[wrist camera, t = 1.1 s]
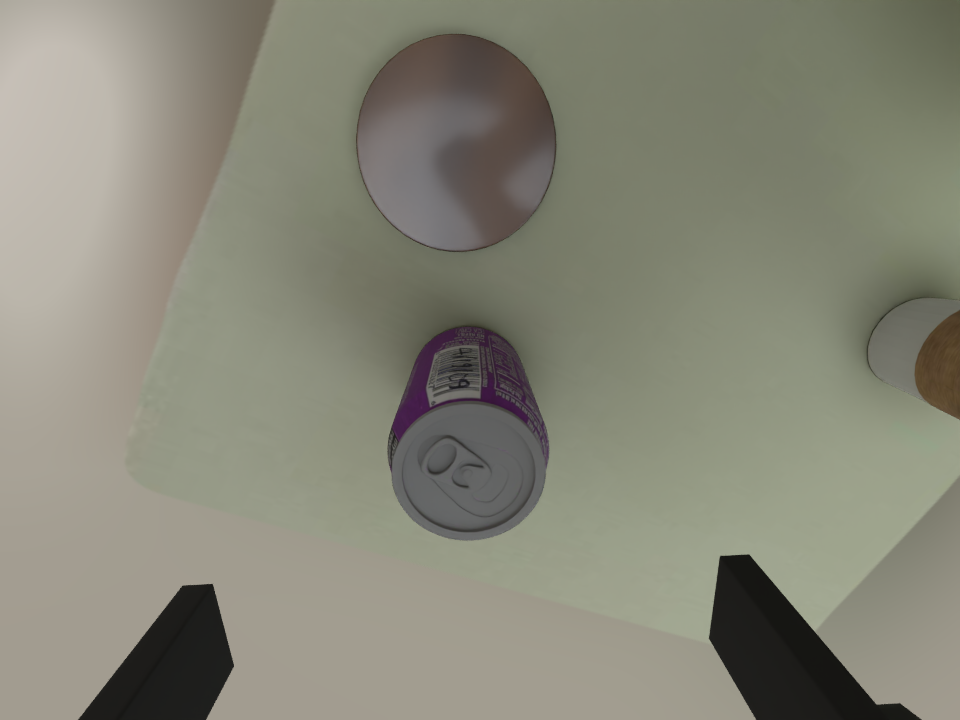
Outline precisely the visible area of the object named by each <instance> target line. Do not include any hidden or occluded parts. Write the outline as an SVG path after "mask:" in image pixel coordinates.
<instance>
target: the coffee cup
mask: <svg viewBox="0 0 960 720" xmlns="http://www.w3.org/2000/svg"><path fill="white" fill-rule="evenodd" d="M868 361H869V365H870V367H871V369H872V371H873V372H874V373H875V375H876V376H877V377H878V378H880V379H881V380H882V381H884V382H886V383H888V384H890V385H892V386H894V387H896V388H898V389H900V390H902V391H904V392H907V393H909V394H911V395H913V396H915V397H917V398H919V399H921V400H923V401H925V402H928V403H929V404H931V405H932V406H934V407H936V408H938V409H940V410H942V411H944V412H946V413H948V414H950V415H952V416H954V417H956V418H958V419H959V420H960V300H951V299H940V298H919V299H914V300H911V301H908V302H905V303H903V304H901V305H899V306H898V307H896V308H894V309H893V310H892V311H890V312H889V313H888V314H887V315H886V316H885V317H884V318H883V319H882V320H881V321H880V322H879V324H878V325H877V327H876V328H875V330H874V331H873V334H872V336H871V338H870V341H869V345H868Z"/></svg>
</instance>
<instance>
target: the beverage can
mask: <svg viewBox="0 0 960 720" xmlns="http://www.w3.org/2000/svg"><path fill="white" fill-rule="evenodd" d="M548 459H549V440H548V434H547V430H546V427H545V424H544V421H543V419H542V416H541V413H540V411H539V408H538V405H537V403H536V400H535V398H534V395H533V392H532V390H531V387H530V384H529V382H528V379H527V376H526V374H525V371H524V368H523V366H522V363H521V361H520V358H519V356H518V354H517V353H516V351H515V350H514V349H513V347H512V346H511V345H510V344H509V343H508V342H507V341H506V340H505V339H503V338H502V337H501V336H499V335H497V334H495V333H493V332H491V331H489V330H486V329H482V328H477V327H460V328H454V329H451V330H448V331H445V332H443V333H441V334H439V335H438V336H436V337H434V338H433V339H432V340H431V341H429V342H428V343H427V344H426V345H425V347H424V348H423V349H422V350H421V352H420V353H419V355H418V357H417V359H416V362H415V364H414V367H413V370H412V372H411V375H410V378H409V381H408V383H407V386H406V389H405V392H404V394H403V397H402V400H401V403H400V405H399V408H398V411H397V413H396V416H395V419H394V422H393V425H392V428H391V431H390V435H389V440H388V461H389V466H390V470H391V473H392V483H393V488H394V491H395V494H396V497H397V499H398V501H399V503H400V505H401V506H402V508H403V509H404V510H405V512H406V513H407V514H408V515H409V516H410V517H411V518H412V519H413V520H414V521H415V522H416V523H417V524H419V525H420V526H422V527H423V528H425V529H426V530H428V531H430V532H432V533H434V534H437V535H439V536H442V537H446V538H450V539H456V540H480V539H486V538H490V537H494V536H497V535H499V534H502V533H504V532H506V531H508V530H510V529H511V528H513V527H515V526H516V525H517V524H519V523H520V522H521V521H522V520H524V519H525V518H526V517H527V516H528V515H529V513H530V512H531V511H532V510H533V508H534V507H535V505H536V504H537V502H538V500H539V498H540V496H541V494H542V491H543V488H544V483H545V476H546V468H547V464H548Z"/></svg>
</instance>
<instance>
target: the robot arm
mask: <svg viewBox="0 0 960 720" xmlns="http://www.w3.org/2000/svg"><path fill="white" fill-rule="evenodd" d="M709 639H710V641H711V643H712V644H713V646H714V648H715V650H716V651H717V653H718V655H719V656H720V658H721V660H722V662H723V663H724V665H725V667H726V668H727V670H728V672H729V674H730V675H731V677H732V679H733V681H734V682H735V684H736V686H737V687H738V689H739V691H740V692H741V694H742V696H743V698H744V700H745V701H746V703H747V705H748V706H749V708H750V710H751V712H752V713H753V715H754V717H755V718H756V720H921V719H920V718H919V717H917V716H916V715H915V714H913V713H912V712H910V711H909V710H908V709H907V708H905V707H904V706H903V705H901V704H900V703H899V704H884V705H883V704H882V705H876V704H875V702H874V701H873V700H872V699H871V698H870V697H869V695H868V694H867V693H866V692H865V691H864V689H863V688H862V687H861V686H860V685H859V683H858V682H857V681H856V680H855V679H854V678H853V677H852V675H851V674H850V673H849V672H848V671H847V670H846V668H845V667H844V666H843V665H842V663H841V662H840V661H839V660H838V659H837V658H836V657H835V656H834V654H833V653H832V652H831V650H830V649H829V648H828V647H827V646H826V645H825V644H824V642H823V641H822V640H821V639H820V638H819V636H818V635H817V634H816V633H815V632H814V630H813V629H812V628H811V627H810V626H809V625H808V623H807V622H806V621H805V620H804V619H803V617H802V616H801V615H800V614H799V613H798V612H797V610H796V609H795V608H794V607H793V606H792V605H791V603H790V602H789V601H788V600H787V599H786V597H785V596H784V595H783V594H782V593H781V592H780V590H779V589H778V588H777V587H776V586H775V584H774V583H773V582H772V581H771V580H770V579H769V577H768V576H767V575H766V574H765V573H764V572H763V570H762V569H761V568H760V567H759V566H758V564H757V563H756V562H755V561H754V560H753V559H752V557H751V556H750V555H731V556H720V560H719V567H718V575H717V582H716V590H715V597H714V605H713V612H712V620H711V627H710V635H709ZM233 667H234V664H233V660H232V656H231V653H230V648H229V645H228V641H227V637H226V633H225V629H224V625H223V622H222V618H221V614H220V610H219V606H218V602H217V598H216V595H215V591H214V587H213V584H204V585H186V586H182V587H181V588H180V590H179V591H178V592H177V594H176V595H175V596H174V597H173V599H172V600H171V602H170V603H169V604H168V605H167V607H166V608H165V609H164V610H163V612H162V613H161V614H160V615H159V617H158V618H157V619H156V621H155V622H154V623H153V624H152V626H151V627H150V628H149V630H148V631H147V632H146V633H145V635H144V636H143V637H142V639H141V640H140V641H139V643H138V644H137V645H136V646H135V648H134V649H133V650H132V651H131V653H130V654H129V655H128V657H127V658H126V659H125V660H124V662H123V663H122V664H121V666H120V667H119V668H118V670H117V671H116V672H115V673H114V675H113V676H112V677H111V678H110V680H109V681H108V682H107V684H106V685H105V686H104V687H103V689H102V690H101V691H100V693H99V694H98V695H97V696H96V698H95V699H94V700H93V702H92V703H91V704H90V706H89V707H88V708H87V709H86V710H85V712H84V713H83V714H82V716H81V717H80V718H79V719H78V720H206V719H207V717H208V715H209V713H210V711H211V709H212V707H213V705H214V703H215V701H216V700H217V697H218V696H219V694H220V692H221V690H222V688H223V686H224V684H225V682H226V680H227V678H228V677H229V675H230V673H231V671H232V668H233Z"/></svg>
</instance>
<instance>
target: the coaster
mask: <svg viewBox="0 0 960 720" xmlns="http://www.w3.org/2000/svg"><path fill="white" fill-rule="evenodd" d="M356 143H357V157H358V162H359V168H360V171H361V175H362V178H363V181H364V184H365V186H366V188H367V191H368V193H369V195H370V197H371V198H372V200H373V202H374V204H375V205H376V207H377V208H378V209H379V211H380V212H381V213H382V215H383V216H384V217H385V218H386V219H387V220H388V221H389V222H390V223H391V224H392V225H393V226H394V227H395V228H396V229H397V230H399V231H400V232H401V233H402V234H404V235H405V236H407V237H409V238H410V239H412V240H414V241H416V242H418V243H420V244H422V245H425V246H427V247H431V248H434V249H437V250H444V251H452V252H464V251H473V250H478V249H482V248H486V247H488V246H491V245H494V244H496V243H498V242H500V241H502V240H504V239H505V238H507V237H509V236H510V235H512V234H513V233H514V232H516V231H517V230H518V229H519V228H520V227H521V226H522V225H523V224H525V223H526V222H527V221H528V219H529V218H530V217H531V216H532V214H533V213H534V212H535V211H536V209H537V208H538V206H539V204H540V203H541V201H542V199H543V197H544V195H545V193H546V191H547V189H548V186H549V183H550V180H551V177H552V174H553V169H554V163H555V155H556V134H555V127H554V121H553V116H552V113H551V109H550V106H549V103H548V101H547V99H546V96H545V94H544V92H543V90H542V88H541V86H540V85H539V83H538V81H537V80H536V78H535V77H534V76H533V74H532V73H531V72H530V71H529V69H528V68H527V67H526V66H525V65H524V64H523V63H522V62H521V61H520V60H519V59H518V58H517V57H516V56H514V55H513V54H512V53H510V52H509V51H507V50H506V49H505V48H503V47H501V46H499V45H497V44H495V43H493V42H491V41H488V40H486V39H483V38H480V37H476V36H471V35H466V34H445V35H437V36H433V37H429V38H426V39H423V40H420V41H418V42H416V43H414V44H411V45H410V46H408V47H407V48H405V49H403V50H402V51H400V52H399V53H398V54H396V55H395V56H394V57H393V58H392V59H391V60H389V61H388V62H387V64H386V65H385V66H384V67H383V68H382V69H381V70H380V71H379V73H378V74H377V76H376V77H375V79H374V80H373V82H372V83H371V85H370V87H369V89H368V91H367V93H366V96H365V98H364V101H363V104H362V107H361V110H360V114H359V119H358V124H357V137H356Z"/></svg>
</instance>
